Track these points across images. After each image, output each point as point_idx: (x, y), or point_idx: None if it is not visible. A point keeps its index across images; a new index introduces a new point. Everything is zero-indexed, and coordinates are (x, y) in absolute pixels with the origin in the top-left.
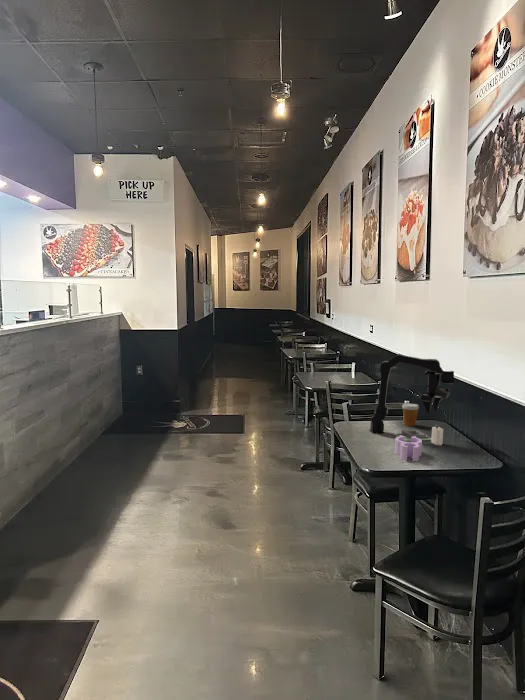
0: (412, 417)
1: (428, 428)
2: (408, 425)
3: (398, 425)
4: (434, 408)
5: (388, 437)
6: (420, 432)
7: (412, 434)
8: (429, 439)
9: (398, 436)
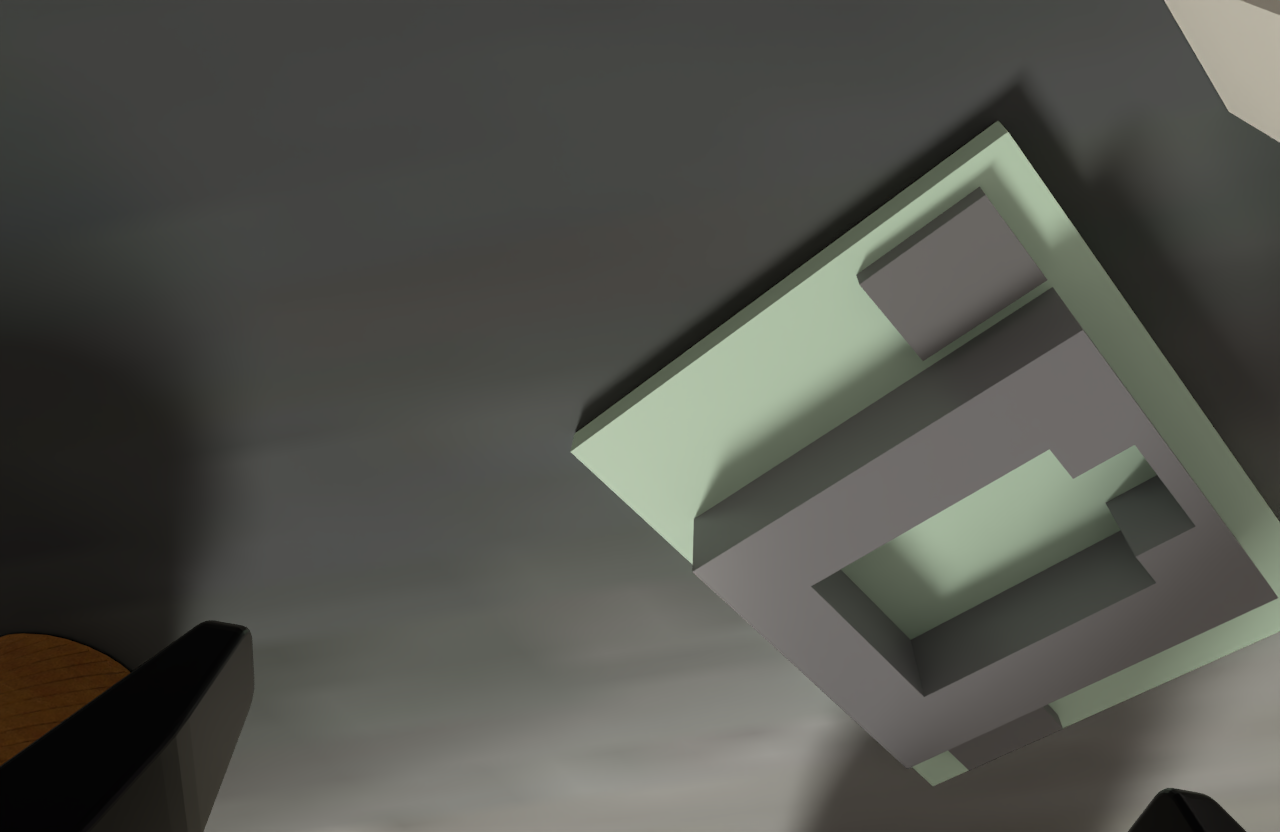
0: None
1: (6, 405)
2: None
3: (248, 811)
4: (217, 785)
5: (1117, 803)
6: (908, 472)
7: (1185, 574)
8: (1050, 195)
9: (1073, 717)
